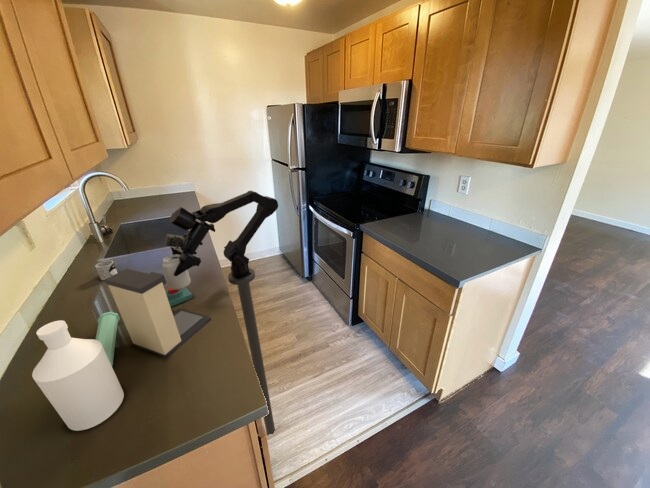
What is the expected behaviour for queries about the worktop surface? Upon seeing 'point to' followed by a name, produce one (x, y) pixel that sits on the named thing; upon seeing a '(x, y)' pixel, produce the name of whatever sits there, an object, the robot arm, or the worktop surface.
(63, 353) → the bottle
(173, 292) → the button
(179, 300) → the control block
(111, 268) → the mug
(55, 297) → the worktop surface
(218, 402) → the worktop surface
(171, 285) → the can
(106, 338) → the container
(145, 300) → the coffee maker
